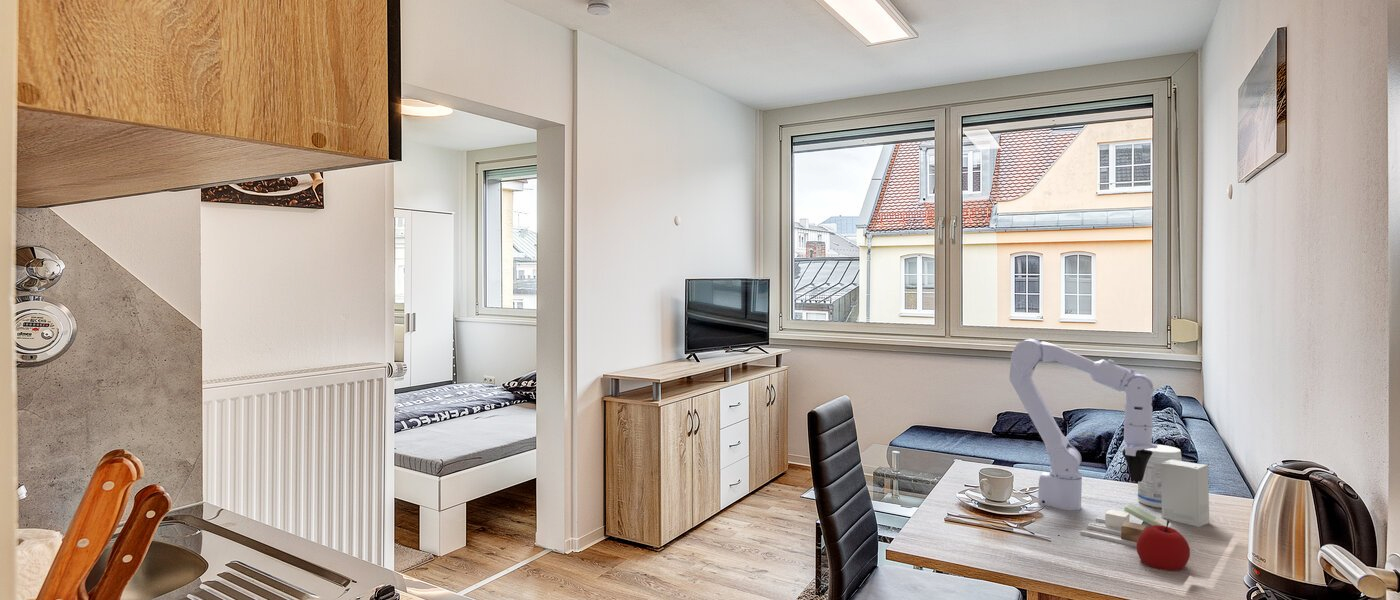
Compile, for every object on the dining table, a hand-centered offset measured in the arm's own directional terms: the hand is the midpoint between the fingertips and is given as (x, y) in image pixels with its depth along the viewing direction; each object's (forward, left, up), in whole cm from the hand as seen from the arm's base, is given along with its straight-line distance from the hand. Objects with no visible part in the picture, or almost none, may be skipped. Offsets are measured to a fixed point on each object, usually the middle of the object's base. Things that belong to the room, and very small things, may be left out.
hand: (1136, 480), depth 175 cm
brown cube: (+4, -20, -9) cm, 22 cm away
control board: (+1, -13, -10) cm, 16 cm away
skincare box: (+9, +5, -10) cm, 14 cm away
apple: (+11, -30, -10) cm, 34 cm away
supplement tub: (+1, +20, -10) cm, 22 cm away
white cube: (-1, -13, -9) cm, 16 cm away
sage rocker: (+4, -8, -6) cm, 11 cm away
